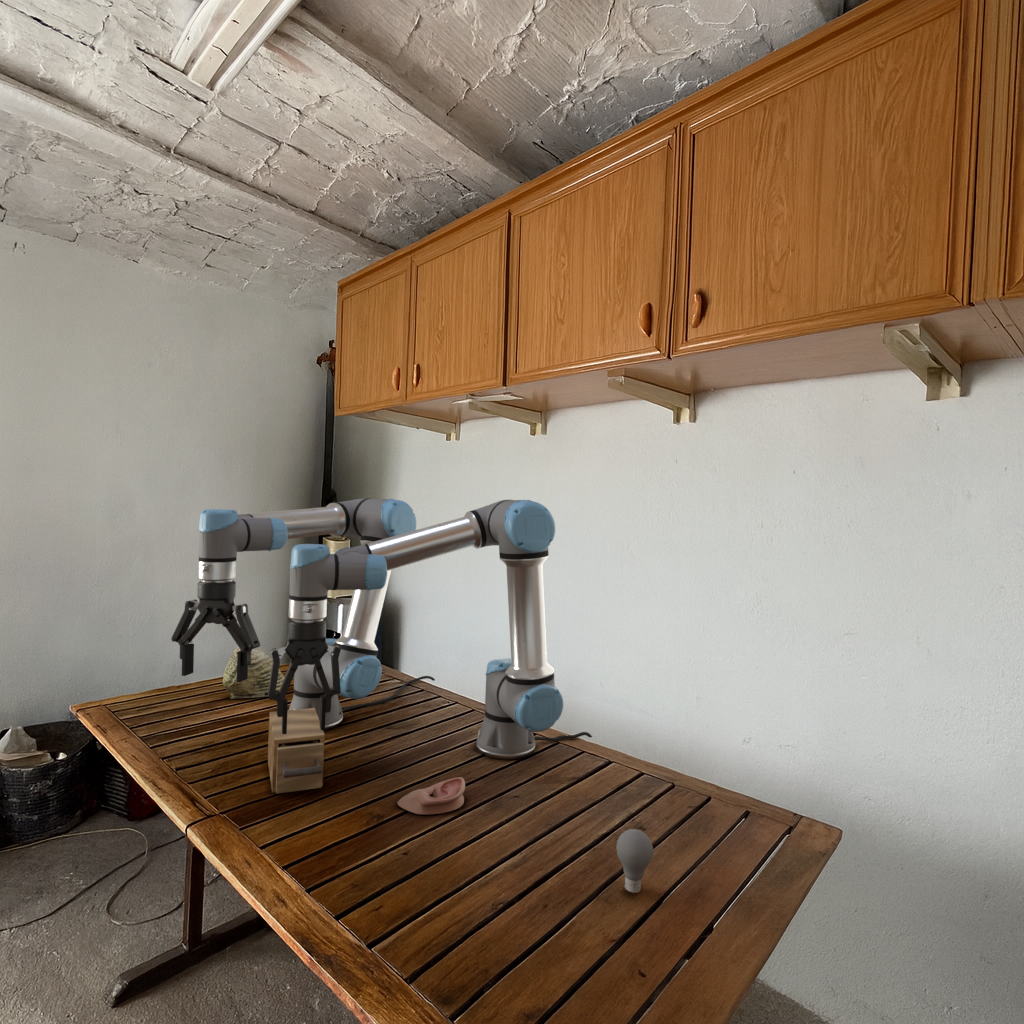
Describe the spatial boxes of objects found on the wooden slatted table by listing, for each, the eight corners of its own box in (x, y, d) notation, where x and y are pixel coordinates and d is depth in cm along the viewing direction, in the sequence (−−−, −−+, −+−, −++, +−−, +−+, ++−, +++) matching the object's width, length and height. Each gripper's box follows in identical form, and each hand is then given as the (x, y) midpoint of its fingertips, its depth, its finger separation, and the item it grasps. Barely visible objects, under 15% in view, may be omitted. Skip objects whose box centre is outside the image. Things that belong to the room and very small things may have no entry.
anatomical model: (392, 791, 129) (412, 768, 140) (391, 810, 129) (411, 786, 140) (454, 800, 126) (470, 776, 137) (454, 820, 126) (469, 794, 137)
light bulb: (610, 879, 108) (613, 822, 108) (644, 879, 109) (647, 822, 109) (619, 902, 102) (622, 840, 102) (655, 901, 103) (658, 840, 103)
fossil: (218, 695, 195) (220, 647, 195) (278, 685, 208) (279, 640, 207) (228, 703, 189) (230, 653, 188) (289, 692, 201) (290, 645, 201)
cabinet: (322, 785, 139) (324, 734, 139) (272, 792, 135) (274, 740, 134) (313, 753, 156) (314, 707, 155) (267, 758, 151) (269, 711, 151)
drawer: (325, 799, 131) (327, 754, 130) (277, 806, 127) (279, 760, 127) (312, 756, 152) (314, 717, 151) (271, 761, 148) (273, 721, 148)
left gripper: (154, 578, 136) (152, 676, 137) (257, 586, 131) (254, 688, 132) (180, 574, 144) (177, 667, 144) (278, 581, 138) (275, 678, 139)
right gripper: (256, 624, 123) (252, 741, 124) (359, 620, 131) (354, 731, 132) (255, 617, 130) (251, 728, 130) (353, 614, 138) (348, 719, 138)
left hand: (214, 677), depth 138 cm, fingers open, 13 cm apart
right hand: (303, 729), depth 131 cm, fingers open, 7 cm apart
